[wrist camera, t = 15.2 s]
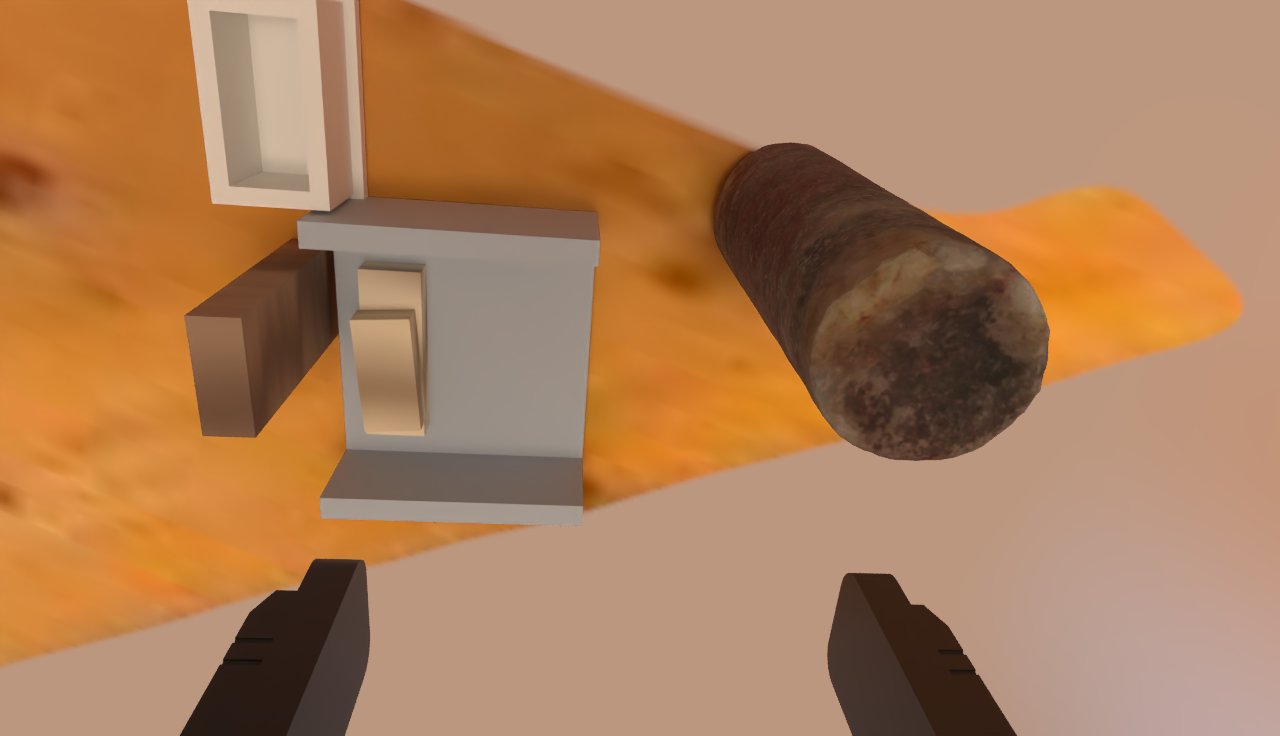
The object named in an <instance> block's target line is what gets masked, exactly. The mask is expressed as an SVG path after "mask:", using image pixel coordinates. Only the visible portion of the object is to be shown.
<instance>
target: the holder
mask: <svg viewBox="0 0 1280 736" xmlns="http://www.w3.org/2000/svg"><path fill="white" fill-rule="evenodd" d="M187 3H188V11H189V20H190V28H191V36H192V44H193V52H194V60H195V68H196V77H197V85H198V93H199V101H200V109H201V117H202V126H203V134H204V142H205V150H206V158H207V166H208V174H209V183H210V191H211V199H212V203H213V204H228V205H243V206H258V207H273V208H288V209H303V210H318V211H331V210H333V209H334V208H335V207H337V206H338V205H340V204H341V203H342V202H344V201H345V200H347V199H348V198H351V199H365V198H367V197H368V185H367V164H366V143H365V121H364V100H363V79H362V58H361V37H360V16H359V0H187Z"/></svg>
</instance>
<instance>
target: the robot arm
mask: <svg viewBox="0 0 1280 736" xmlns="http://www.w3.org/2000/svg"><path fill="white" fill-rule="evenodd" d="M369 647H370V627H369V611H368V593H367V576H366V566H365V562H364V561H363V560H349V559H315V560H314V561H313V562H312V563H311V565H310V567H309V569H308V571H307V573H306V575H305V577H304V579H303V581H302V583H301V585H300V587H299V589H298V591H284V590H276V591H275V592H274V593H272V594H271V595H270V596H269V597H268V598H266V599H265V600H264V601H263V602H262V603H260V604H259V605H258V606H257V607H256V608H254V609H253V610H252V611H251V612H250V613H249V615H248V616H247V618H246V620H245V622H244V623H243V625H242V627H241V629H240V630H239V632H238V634H237V636H236V637H235V643H232V645H231V646H230V648H229V650H228V652H227V653H226V655H225V657H224V659H223V664H222V665H220V666H219V667H218V669H217V671H216V673H215V675H214V676H213V678H212V680H211V682H210V683H209V685H208V687H207V689H206V690H205V692H204V694H203V696H202V697H201V699H200V701H199V703H198V705H197V706H196V708H195V710H194V711H193V713H192V715H191V717H190V718H189V720H188V722H187V724H186V726H185V727H184V729H183V731H182V733H181V734H180V736H345V733H346V730H347V727H348V724H349V721H350V718H351V715H352V712H353V709H354V706H355V703H356V700H357V697H358V694H359V691H360V688H361V685H362V682H363V679H364V675H365V672H366V668H367V662H368V657H369ZM827 655H828V669H829V674H830V679H831V682H832V685H833V687H834V690H835V692H836V695H837V697H838V700H839V703H840V705H841V708H842V710H843V712H844V715H845V718H846V720H847V723H848V725H849V728H850V730H851V733H852V735H853V736H1017V735H1016V734H1015V732H1014V730H1013V729H1012V727H1011V726H1010V724H1009V722H1008V721H1007V719H1006V718H1005V716H1004V714H1003V713H1002V711H1001V710H1000V708H999V706H998V705H997V703H996V702H995V700H994V699H993V697H992V695H991V694H990V692H989V690H988V689H987V687H986V686H985V684H984V683H983V681H982V680H981V678H980V676H979V675H976V673H975V668H974V667H973V665H972V663H971V662H970V660H969V659H968V657H967V655H964V654H963V649H962V647H961V646H960V644H959V643H958V641H957V640H956V638H955V636H954V635H953V633H952V632H951V630H950V628H949V627H948V626H947V625H946V624H945V623H944V622H943V621H941V620H940V619H939V618H938V617H937V616H936V615H934V614H933V613H932V612H931V611H930V610H929V609H927V608H926V607H925V606H924V605H911V604H910V602H909V601H908V599H907V597H906V596H905V594H904V592H903V590H902V589H901V587H900V585H899V584H898V582H897V580H896V579H895V577H894V576H893V575H891V574H871V573H870V574H869V573H868V574H867V573H847V574H846V575H845V576H844V578H843V581H842V584H841V588H840V592H839V597H838V602H837V606H836V611H835V616H834V620H833V624H832V629H831V634H830V638H829V643H828V654H827Z"/></svg>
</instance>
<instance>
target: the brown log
mask: <svg viewBox="0 0 1280 736" xmlns="http://www.w3.org/2000/svg"><path fill="white" fill-rule="evenodd" d="M714 233H715V237H716V242H717V244H718V247H719V249H720V251H721V253H722V255H723V257H724V258H725V260H726V262H727V264H728V265H729V267H730V269H731V270H732V272H733V274H734V275H735V277H736V278H737V280H738V281H739V283H740V285H741V286H742V288H743V289H744V290H745V292H746V293H747V295H748V296H749V298H750V300H751V301H752V303H753V304H754V306H755V307H756V309H757V310H758V312H759V314H760V315H761V317H762V319H763V320H764V322H765V323H766V325H767V326H768V328H769V330H770V331H771V333H772V334H773V336H774V337H775V338H776V340H777V341H778V343H779V344H780V346H781V348H782V350H783V351H784V353H785V355H786V357H787V358H788V360H789V362H790V363H791V365H792V366H793V368H794V369H795V371H796V372H797V374H798V375H799V377H800V378H801V380H802V381H803V383H804V384H805V386H806V388H807V390H808V392H809V394H810V396H811V398H812V400H813V401H814V403H815V404H816V406H817V407H818V409H819V410H820V412H821V414H822V416H823V417H824V418H825V419H826V420H827V422H828V423H829V424H830V425H831V427H832V428H833V429H834V430H835V431H836V433H837V434H838V435H839V436H841V437H842V438H844V439H845V440H846V441H848V442H849V443H851V444H852V445H854V446H856V447H858V448H861V449H862V450H865V451H869V452H872V453H874V454H876V455H878V456H882V457H885V458H889V459H894V460H914V461H918V460H942V459H948V458H954V457H957V456H960V455H962V454H965V453H968V452H972V451H974V450H976V449H978V448H980V447H982V446H984V445H985V444H986V443H987V442H988V441H990V440H991V439H992V438H993V437H995V436H996V435H998V434H999V433H1001V432H1002V431H1003V430H1005V429H1006V428H1007V427H1009V426H1010V425H1011V424H1012V423H1013V422H1014V421H1015V420H1016V418H1017V417H1018V416H1020V415H1021V414H1022V413H1024V412H1025V410H1026V409H1027V407H1028V406H1029V404H1030V403H1031V401H1032V400H1033V399H1034V397H1035V396H1036V395H1037V394H1038V393H1039V392H1040V390H1041V383H1042V378H1043V373H1044V371H1045V369H1046V365H1047V361H1048V341H1049V334H1050V329H1049V326H1048V323H1047V318H1046V315H1045V313H1044V310H1043V307H1042V305H1041V302H1040V300H1039V298H1038V296H1037V294H1036V293H1035V291H1034V289H1033V287H1032V286H1031V284H1030V283H1029V282H1028V281H1027V280H1026V279H1025V278H1024V277H1023V276H1022V275H1021V274H1020V273H1019V272H1018V271H1017V270H1016V269H1015V268H1014V267H1013V265H1011V264H1010V263H1009V262H1007V261H1006V260H1004V259H1003V258H1001V257H1000V256H998V255H997V254H995V253H993V252H992V251H990V250H989V249H987V248H985V247H983V246H981V245H980V244H978V243H976V242H975V241H973V240H971V239H970V238H968V237H966V236H965V235H963V234H961V233H959V232H957V231H955V230H953V229H952V228H950V227H948V226H947V225H945V224H943V223H941V222H939V221H938V220H936V219H935V218H933V217H932V216H930V215H928V214H927V213H925V212H924V211H922V210H920V209H918V208H916V207H914V206H912V205H911V204H909V203H908V202H906V201H905V200H903V199H901V198H899V197H897V196H895V195H894V194H892V193H890V192H888V191H887V190H885V189H884V188H882V187H880V186H879V185H877V184H875V183H873V182H872V181H870V180H869V179H867V178H866V177H864V176H862V175H861V174H859V173H857V172H856V171H854V170H853V169H851V168H850V167H848V166H846V165H845V164H843V163H842V162H840V161H838V160H836V159H835V158H833V157H831V156H829V155H828V154H826V153H824V152H822V151H820V150H819V149H817V148H815V147H813V146H811V145H807V144H799V143H781V144H772V145H767V146H764V147H762V148H760V149H759V150H757V151H755V152H753V153H751V154H749V155H748V156H746V157H745V158H744V159H743V160H741V161H740V163H739V164H738V165H737V166H736V167H735V168H734V169H733V170H732V172H731V173H730V175H729V176H728V178H727V180H726V182H725V184H724V186H723V189H722V191H721V194H720V196H719V199H718V202H717V205H716V210H715V218H714Z"/></svg>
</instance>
